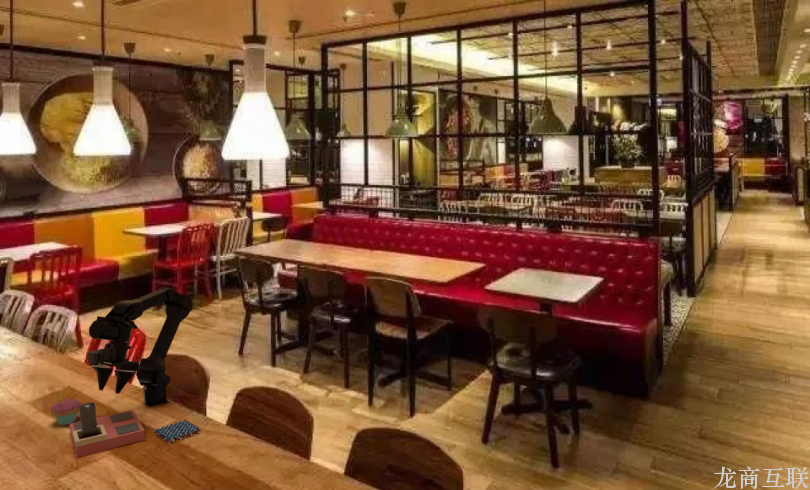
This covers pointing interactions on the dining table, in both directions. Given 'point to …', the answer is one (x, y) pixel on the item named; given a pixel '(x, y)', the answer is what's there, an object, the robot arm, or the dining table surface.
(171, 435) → the woven mat
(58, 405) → the cupcake
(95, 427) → the stool leg
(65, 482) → the dining table surface
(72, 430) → the pink control box
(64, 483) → the dining table surface
